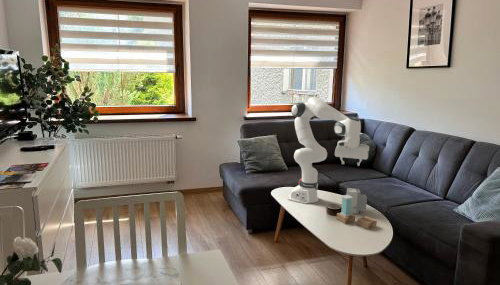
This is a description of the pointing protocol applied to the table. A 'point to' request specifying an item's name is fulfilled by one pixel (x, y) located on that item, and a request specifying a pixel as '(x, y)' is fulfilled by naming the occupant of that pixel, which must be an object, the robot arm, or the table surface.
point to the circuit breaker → (357, 200)
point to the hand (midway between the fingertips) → (350, 164)
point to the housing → (346, 205)
